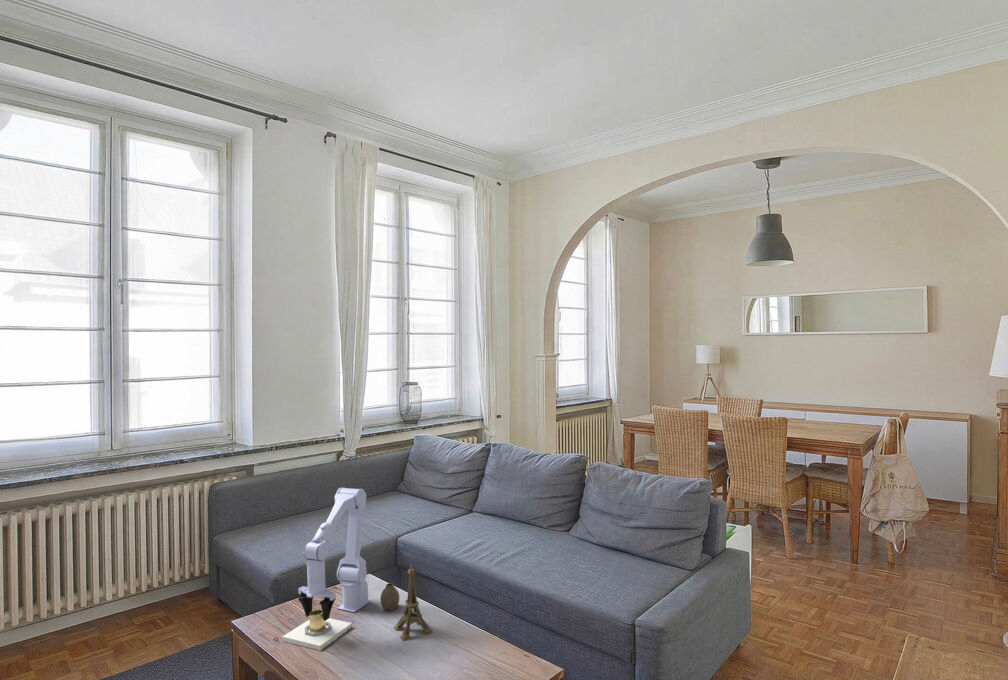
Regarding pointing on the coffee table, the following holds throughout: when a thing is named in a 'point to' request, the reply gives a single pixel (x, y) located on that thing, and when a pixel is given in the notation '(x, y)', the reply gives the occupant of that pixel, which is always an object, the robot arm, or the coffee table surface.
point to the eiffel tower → (411, 615)
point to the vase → (389, 597)
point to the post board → (317, 634)
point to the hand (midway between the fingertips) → (317, 617)
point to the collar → (316, 621)
